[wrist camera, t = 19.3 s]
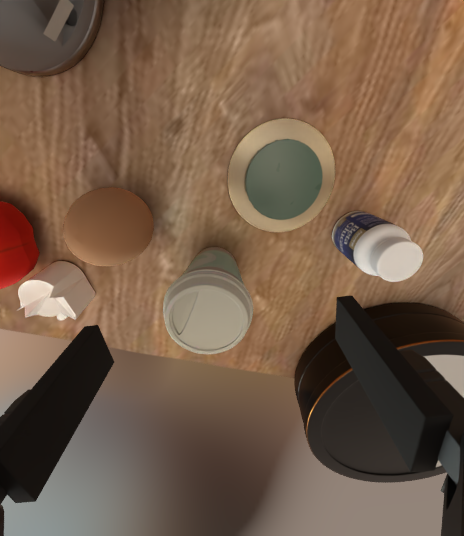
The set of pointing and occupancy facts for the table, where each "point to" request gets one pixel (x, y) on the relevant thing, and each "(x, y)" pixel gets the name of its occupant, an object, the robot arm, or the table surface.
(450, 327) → the container
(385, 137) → the table surface
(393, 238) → the pill bottle
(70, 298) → the jagged white extruded chunk
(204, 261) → the coffee cup
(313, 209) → the coaster
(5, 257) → the tomato
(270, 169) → the lid
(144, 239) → the egg
